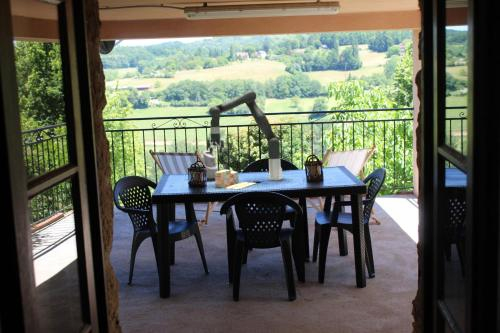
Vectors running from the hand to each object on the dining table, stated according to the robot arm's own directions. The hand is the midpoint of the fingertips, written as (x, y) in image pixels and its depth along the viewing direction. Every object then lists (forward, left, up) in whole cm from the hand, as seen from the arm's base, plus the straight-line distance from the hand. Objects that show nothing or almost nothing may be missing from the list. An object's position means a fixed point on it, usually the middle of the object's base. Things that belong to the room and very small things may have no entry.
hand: (215, 153), depth 538 cm
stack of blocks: (-9, +1, -25) cm, 27 cm away
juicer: (+23, -19, -25) cm, 39 cm away
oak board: (-21, +1, -25) cm, 33 cm away
